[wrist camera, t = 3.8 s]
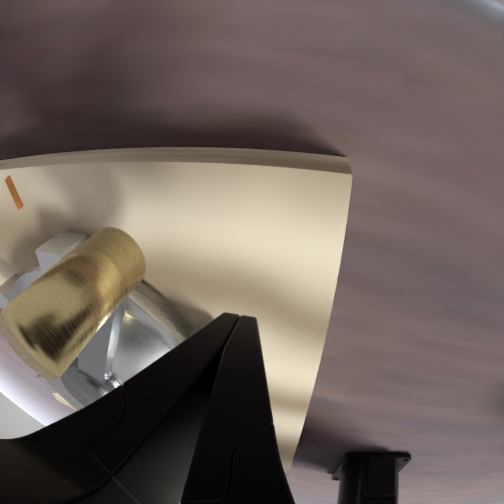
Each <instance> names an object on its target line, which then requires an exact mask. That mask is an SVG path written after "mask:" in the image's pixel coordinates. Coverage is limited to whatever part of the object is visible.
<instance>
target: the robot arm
mask: <svg viewBox="0 0 504 504" xmlns="http://www.w3.org/2000/svg"><path fill="white" fill-rule="evenodd" d="M273 422H274V421H273V415H272V409H271V403H270V397H269V390H268V384H267V378H266V372H265V365H264V359H263V353H262V346H261V340H260V334H259V327H258V321H257V318H256V317H253V316H247V315H241V316H240V315H239V314H235V313H229V312H224V313H222V314H220V315H219V316H218V317H216V318H215V319H214V320H212V321H211V322H209V323H208V324H207V325H205V326H204V327H202V328H201V329H200V330H198V331H197V332H195V333H194V334H193V335H191V336H190V337H188V338H187V339H186V340H184V341H183V342H181V343H180V344H179V345H177V346H176V347H174V348H173V349H171V350H170V351H169V352H167V353H166V354H164V355H163V356H161V357H160V358H159V359H157V360H156V361H154V362H153V363H151V364H150V365H148V366H147V367H146V368H144V369H143V370H141V371H140V372H138V373H137V374H135V375H134V376H132V377H131V378H129V379H128V380H127V381H125V382H124V383H123V385H119V386H118V387H116V388H115V389H113V390H112V391H110V392H109V393H107V394H105V395H104V396H102V397H101V398H99V399H97V400H96V401H94V402H93V403H91V404H89V405H87V406H85V407H84V408H82V409H80V410H78V411H76V412H74V413H73V414H71V415H69V416H67V417H65V418H63V419H61V420H59V421H56V422H54V423H52V424H50V425H48V426H46V427H44V428H42V429H40V430H38V431H36V432H34V433H31V434H29V435H26V436H23V437H19V438H14V439H0V504H179V502H180V503H181V504H295V502H294V499H293V496H292V493H291V490H290V488H289V485H288V482H287V479H286V475H285V472H284V469H283V465H282V462H281V458H280V453H279V449H278V444H277V439H276V433H275V426H274V424H273ZM410 460H411V455H410V454H361V453H347V454H345V456H344V457H343V459H342V460H341V462H340V464H339V465H338V467H337V468H336V470H335V471H334V473H333V474H332V480H337V481H340V485H339V493H338V501H337V504H398V472H399V471H400V470H401V469H402V468H403V467H404V466H405V465H406V464H407V463H408V462H409V461H410ZM180 500H181V501H180Z"/></svg>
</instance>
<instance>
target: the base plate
mask: <svg viewBox="0 0 504 504" xmlns="http://www.w3.org/2000/svg"><path fill="white" fill-rule="evenodd" d="M352 176H353V174H352V171H351V167H350V164H349V161H348V158H347V157H340V156H332V155H323V154H313V153H302V152H290V151H277V150H262V149H244V148H216V147H146V148H119V149H101V150H87V151H74V152H63V153H53V154H44V155H36V156H28V157H20V158H13V159H7V160H0V286H1V285H2V284H3V283H4V282H6V281H7V280H8V279H9V278H10V277H12V276H13V275H14V274H15V273H17V274H18V275H19V276H20V277H21V276H22V275H23V274H25V273H26V272H27V271H28V270H30V269H31V268H32V267H33V266H35V265H36V264H37V263H39V261H38V258H37V255H36V252H35V250H36V249H37V248H38V247H40V246H41V245H42V244H44V243H45V242H47V241H48V240H50V239H51V238H52V237H54V236H55V235H57V234H58V233H60V232H61V231H64V232H72V233H80V234H87V238H90V237H91V236H92V235H94V234H95V233H96V232H98V231H99V230H101V229H102V228H105V227H114V228H118V229H120V230H122V231H124V232H126V233H127V234H128V235H130V236H131V237H132V238H133V239H134V240H135V241H136V243H137V244H138V245H139V247H140V249H141V250H142V253H143V255H144V258H145V263H146V271H145V275H144V277H143V279H142V280H141V281H140V282H141V283H143V284H144V285H146V286H147V287H148V288H150V289H151V290H152V291H154V292H155V293H156V294H158V295H159V296H161V297H162V298H163V299H164V300H165V301H166V302H168V303H169V304H170V305H171V306H172V307H173V308H175V309H176V310H177V311H178V312H179V313H180V314H181V315H182V316H183V317H184V318H185V319H186V320H187V321H188V322H189V323H190V324H191V325H192V326H193V327H195V326H198V325H202V324H206V323H209V322H211V321H212V320H214V319H215V318H216V317H218V316H219V315H220V314H222V313H224V312H229V313H235V314H239V315H240V316H241V315H247V316H253V317H256V318H257V321H258V327H259V334H260V340H261V346H262V353H263V359H264V365H265V372H266V378H267V384H268V390H269V397H270V403H271V409H272V415H273V421H274V422H273V424H274V426H275V433H276V439H277V444H278V449H279V453H280V458H281V462H282V465H283V469H284V472H285V475H288V473H289V470H290V467H291V464H292V461H293V458H294V455H295V452H296V448H297V445H298V442H299V438H300V435H301V432H302V428H303V425H304V421H305V418H306V414H307V411H308V407H309V403H310V399H311V396H312V392H313V388H314V384H315V380H316V376H317V372H318V368H319V364H320V360H321V355H322V351H323V347H324V342H325V338H326V333H327V329H328V324H329V319H330V314H331V310H332V305H333V299H334V294H335V289H336V284H337V278H338V273H339V267H340V261H341V255H342V249H343V243H344V236H345V230H346V223H347V216H348V209H349V201H350V193H351V185H352ZM53 394H54V396H55V397H56V399H57V400H58V401H59V402H61V403H63V404H65V405H67V406H69V407H71V408H73V409H75V408H74V407H73V406H72V405H71V404H69V403H68V402H67V401H66V400H65V399H64V398H63V397H61V396H60V395H59V394H58V393H53ZM75 410H77V409H75ZM77 411H78V410H77Z"/></svg>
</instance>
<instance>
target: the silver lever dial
mask: <svg viewBox="0 0 504 504" xmlns="http://www.w3.org/2000/svg"><path fill="white" fill-rule="evenodd" d="M35 252H36V255H37V258H38V261H39V263H37V264H36V265H35V266H33V267H32V268H31V269H30V270H28V271H27V272H26V273H25V274H23V275H22V276H21V277H20V276H19V275H18V274H17V273H15V274H14V275H13V276H12V277H10V278H9V279H8V280H7V281H6V282H4V283H3V284H2V285H1V286H0V307H1V308H2V309H3V310H2V311H1V312H0V327H1V330H2V332H3V334H4V336H5V338H6V339H7V341H8V343H9V344H10V346H11V347H12V348H13V350H14V351H15V352H16V353H17V355H18V356H19V357H20V358H21V359H22V360H23V361H24V362H25V363H26V364H27V365H28V366H29V367H30V368H32V369H33V370H34V371H35V372H37V373H38V374H39V375H38V376H37V378H38V379H39V380H40V381H41V382H42V383H43V384H44V385H45V386H46V387H47V389H48V390H49V391H50V392H51V393H58V394H59V395H60V396H61V397H63V398H64V399H65V400H66V401H67V402H68V403H69V404H71V405H72V406H73V407H74V408H75V409H77V410H80V409H82V408H84V407H85V406H87V405H89V404H91V403H93V402H94V401H96V400H97V399H99V398H101V397H102V396H104V395H105V394H107V393H109V392H110V391H112V390H113V389H115V388H116V387H118V386H119V385H123V383H124V382H125V381H127V380H128V379H129V378H131V377H132V376H134V375H135V374H137V373H138V372H140V371H141V370H143V369H144V368H146V367H147V366H148V365H150V364H151V363H153V362H154V361H156V360H157V359H159V358H160V357H161V356H163V355H164V354H166V353H167V352H169V351H170V350H171V349H173V348H174V347H176V346H177V345H179V344H180V343H181V342H183V341H184V340H186V339H187V338H188V337H190V336H191V335H193V334H194V333H195V332H197V331H198V330H200V329H201V328H202V327H204V326H205V325H207V324H208V323H206V324H202V325H198V326H195V327H193V326H192V325H191V324H190V323H189V322H188V321H187V320H186V319H185V318H184V317H183V316H182V315H181V314H180V313H179V312H178V311H177V310H176V309H175V308H173V307H172V306H171V305H170V304H169V303H168V302H166V301H165V300H164V299H163V298H162V297H161V296H159V295H158V294H156V293H155V292H154V291H152V290H151V289H150V288H148V287H147V286H146V285H144V284H143V283H141V282H140V281H141V280H142V279H143V277H144V275H145V271H146V263H145V258H144V255H143V253H142V250H141V249H140V247H139V245H138V244H137V243H136V241H135V240H134V239H133V238H132V237H131V236H130V235H128V234H127V233H126V232H124V231H122V230H120V229H118V228H114V227H105V228H102V229H101V230H99V231H98V232H96V233H95V234H94V235H92V236H91V237H90V238H87V234H80V233H72V232H64V231H61V232H60V233H58V234H57V235H55V236H54V237H52V238H51V239H50V240H48V241H47V242H45V243H44V244H42V245H41V246H40V247H38V248H37V249H36V250H35Z"/></svg>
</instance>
